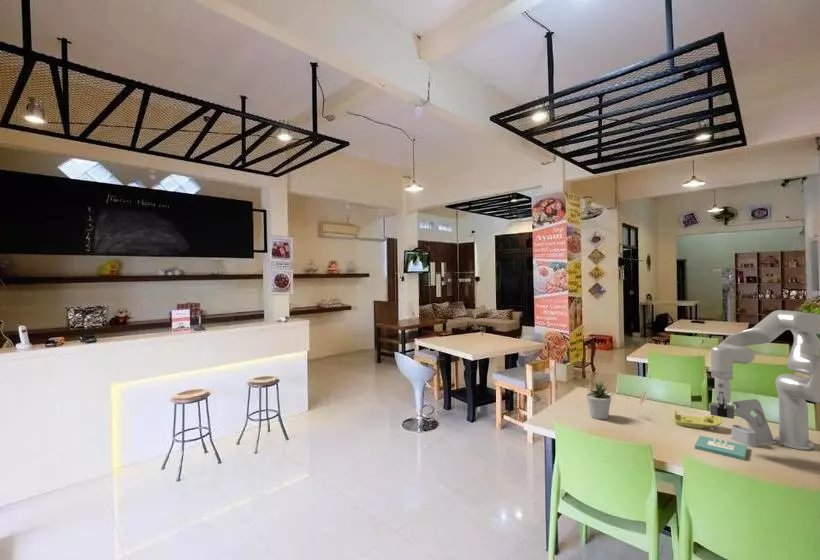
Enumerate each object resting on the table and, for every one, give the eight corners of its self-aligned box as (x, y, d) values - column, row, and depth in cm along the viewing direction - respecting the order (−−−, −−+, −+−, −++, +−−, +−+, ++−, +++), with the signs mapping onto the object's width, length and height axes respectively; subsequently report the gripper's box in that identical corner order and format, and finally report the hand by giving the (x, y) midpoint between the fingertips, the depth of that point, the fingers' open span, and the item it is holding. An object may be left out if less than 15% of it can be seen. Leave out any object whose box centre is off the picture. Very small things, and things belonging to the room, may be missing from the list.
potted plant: (618, 420, 210) (617, 383, 210) (592, 421, 210) (591, 384, 210) (607, 412, 222) (606, 377, 222) (582, 413, 223) (582, 378, 222)
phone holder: (750, 447, 174) (749, 407, 174) (728, 438, 184) (727, 400, 184) (781, 443, 178) (780, 404, 177) (757, 434, 187) (757, 397, 187)
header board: (699, 438, 185) (699, 430, 185) (747, 448, 173) (746, 440, 173) (694, 448, 175) (694, 439, 175) (744, 460, 163) (744, 450, 163)
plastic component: (673, 421, 201) (674, 407, 208) (675, 431, 203) (676, 418, 210) (722, 426, 188) (721, 412, 196) (724, 438, 191) (723, 423, 198)
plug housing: (711, 412, 177) (711, 402, 177) (734, 416, 172) (734, 406, 172) (710, 414, 174) (710, 404, 174) (733, 418, 169) (733, 408, 168)
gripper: (731, 379, 164) (732, 422, 164) (733, 371, 176) (734, 411, 177) (709, 376, 169) (709, 418, 169) (713, 369, 181) (713, 408, 182)
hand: (722, 414), depth 173 cm, fingers closed on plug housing, 4 cm apart
